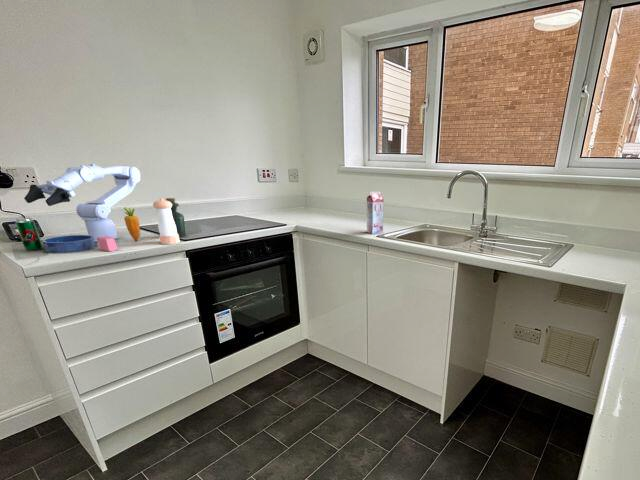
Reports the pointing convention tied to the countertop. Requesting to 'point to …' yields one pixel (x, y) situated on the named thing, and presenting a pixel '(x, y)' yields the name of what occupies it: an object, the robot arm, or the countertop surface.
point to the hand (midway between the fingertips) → (37, 202)
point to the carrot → (132, 224)
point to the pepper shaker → (166, 222)
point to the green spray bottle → (177, 218)
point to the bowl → (69, 243)
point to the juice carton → (375, 213)
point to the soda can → (29, 234)
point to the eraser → (107, 243)
